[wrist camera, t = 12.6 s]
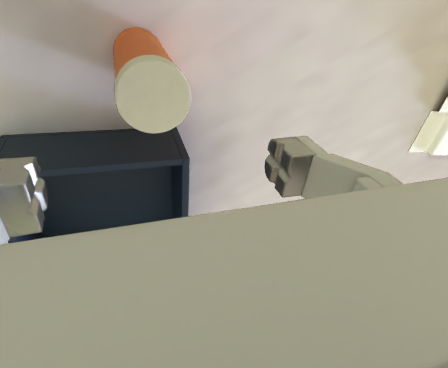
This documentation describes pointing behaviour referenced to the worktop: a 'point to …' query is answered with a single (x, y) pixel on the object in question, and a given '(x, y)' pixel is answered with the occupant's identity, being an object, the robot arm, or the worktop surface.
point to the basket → (105, 178)
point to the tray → (433, 133)
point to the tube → (148, 83)
